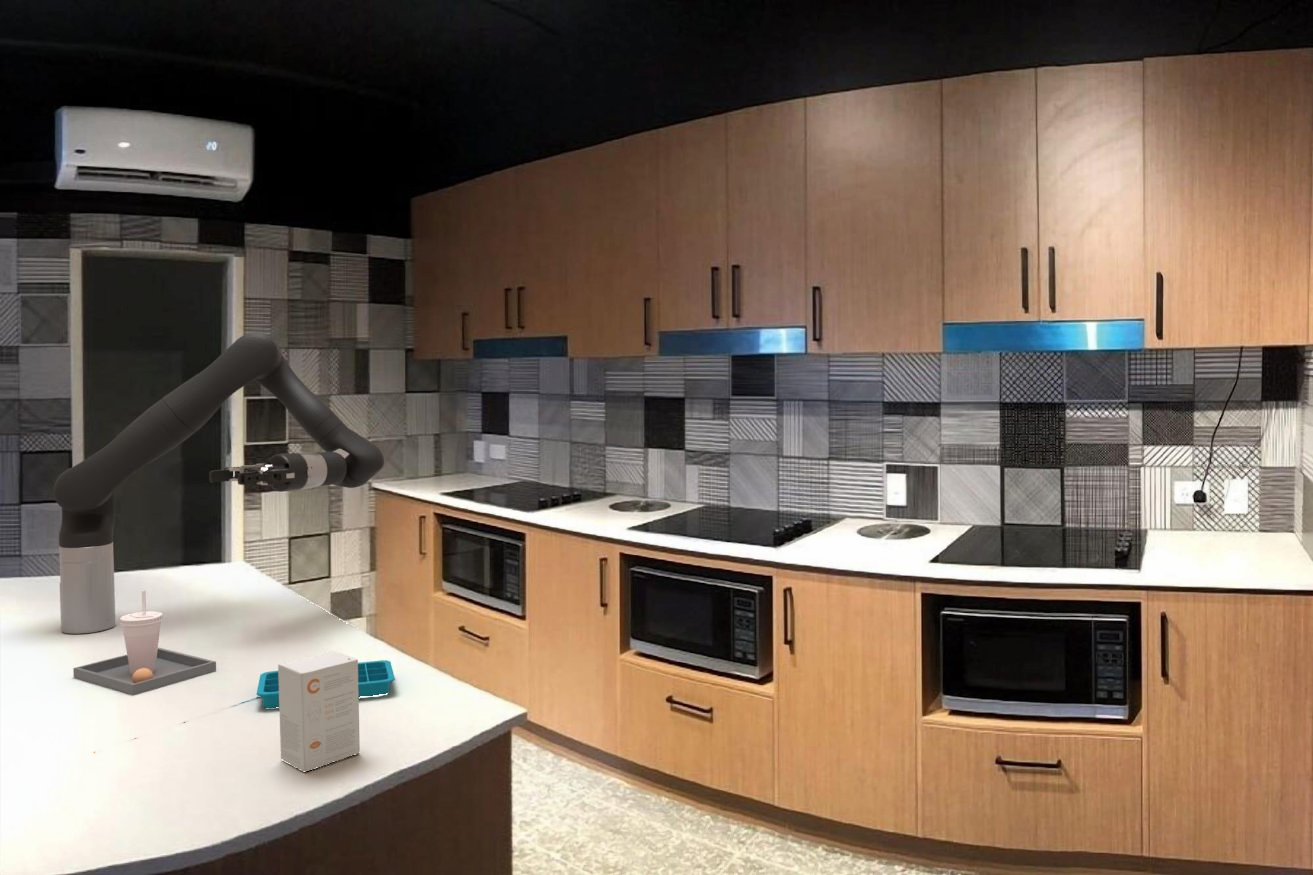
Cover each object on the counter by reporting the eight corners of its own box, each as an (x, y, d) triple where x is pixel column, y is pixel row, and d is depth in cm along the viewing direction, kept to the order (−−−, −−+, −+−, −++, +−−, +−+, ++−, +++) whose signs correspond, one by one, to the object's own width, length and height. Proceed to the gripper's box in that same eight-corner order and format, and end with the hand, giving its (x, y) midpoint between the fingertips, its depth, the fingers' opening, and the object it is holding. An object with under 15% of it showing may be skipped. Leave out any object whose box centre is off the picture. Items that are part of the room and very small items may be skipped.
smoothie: (144, 678, 149) (142, 595, 149) (111, 676, 151) (109, 593, 150) (172, 667, 156) (171, 587, 155) (141, 665, 157) (138, 585, 156)
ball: (128, 687, 145) (127, 669, 145) (146, 682, 148) (146, 664, 147) (139, 690, 143) (138, 672, 143) (157, 685, 146) (157, 667, 146)
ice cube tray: (261, 690, 146) (260, 672, 146) (390, 676, 153) (389, 659, 153) (256, 714, 135) (256, 695, 135) (395, 698, 142) (395, 680, 142)
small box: (335, 742, 124) (334, 649, 123) (361, 754, 120) (359, 658, 119) (278, 761, 118) (276, 663, 117) (303, 774, 114) (301, 673, 113)
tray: (73, 679, 150) (73, 667, 150) (156, 657, 162) (156, 647, 162) (133, 697, 142) (132, 685, 141) (216, 673, 154) (215, 661, 154)
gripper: (274, 451, 185) (200, 456, 171) (321, 454, 178) (248, 459, 164) (274, 487, 186) (201, 495, 172) (321, 491, 179) (249, 500, 165)
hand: (224, 477), depth 168 cm, fingers open, 8 cm apart
